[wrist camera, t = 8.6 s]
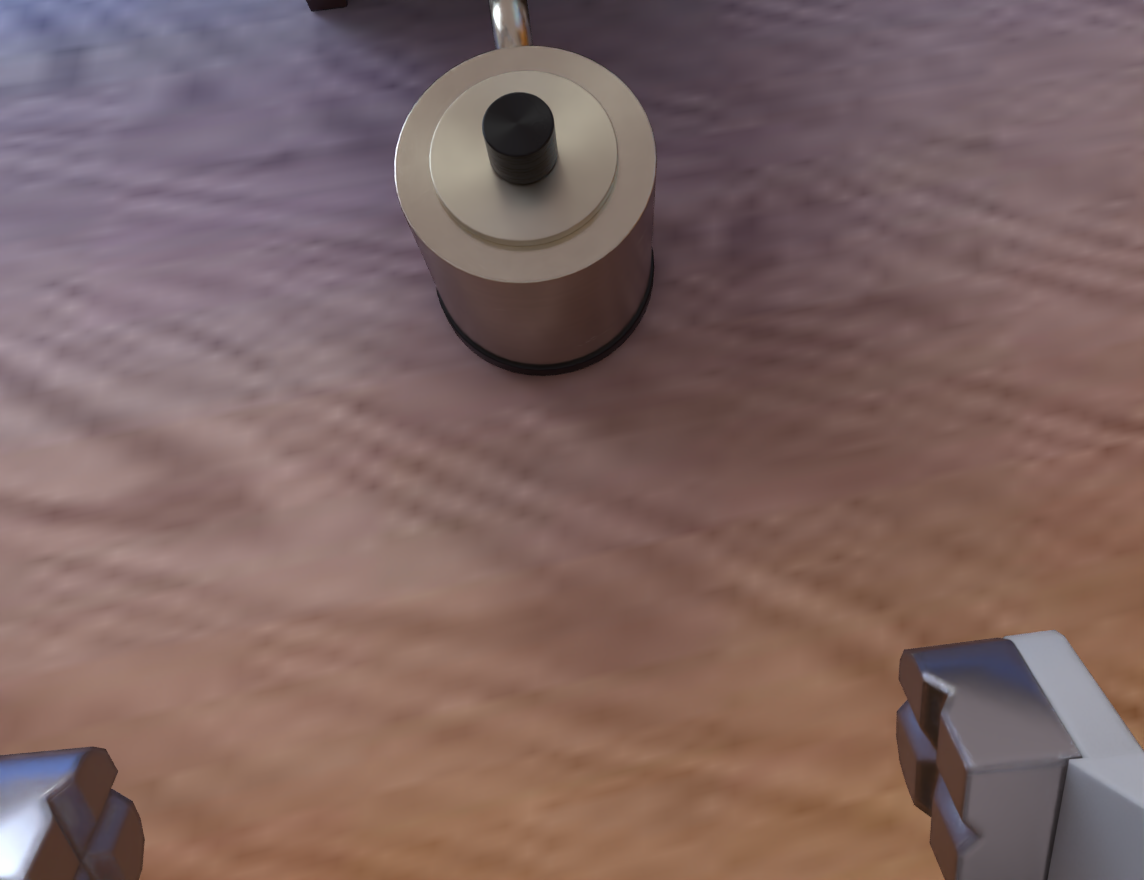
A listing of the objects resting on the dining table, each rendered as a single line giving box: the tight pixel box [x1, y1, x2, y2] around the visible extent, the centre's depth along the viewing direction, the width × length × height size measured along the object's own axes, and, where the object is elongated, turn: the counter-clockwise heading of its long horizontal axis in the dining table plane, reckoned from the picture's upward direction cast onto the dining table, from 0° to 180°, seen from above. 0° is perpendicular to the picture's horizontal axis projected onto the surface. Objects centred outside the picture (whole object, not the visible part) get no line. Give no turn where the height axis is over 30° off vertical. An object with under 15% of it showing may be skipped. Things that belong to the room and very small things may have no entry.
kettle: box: [394, 0, 657, 376], centre depth 27 cm, size 6×9×8 cm
